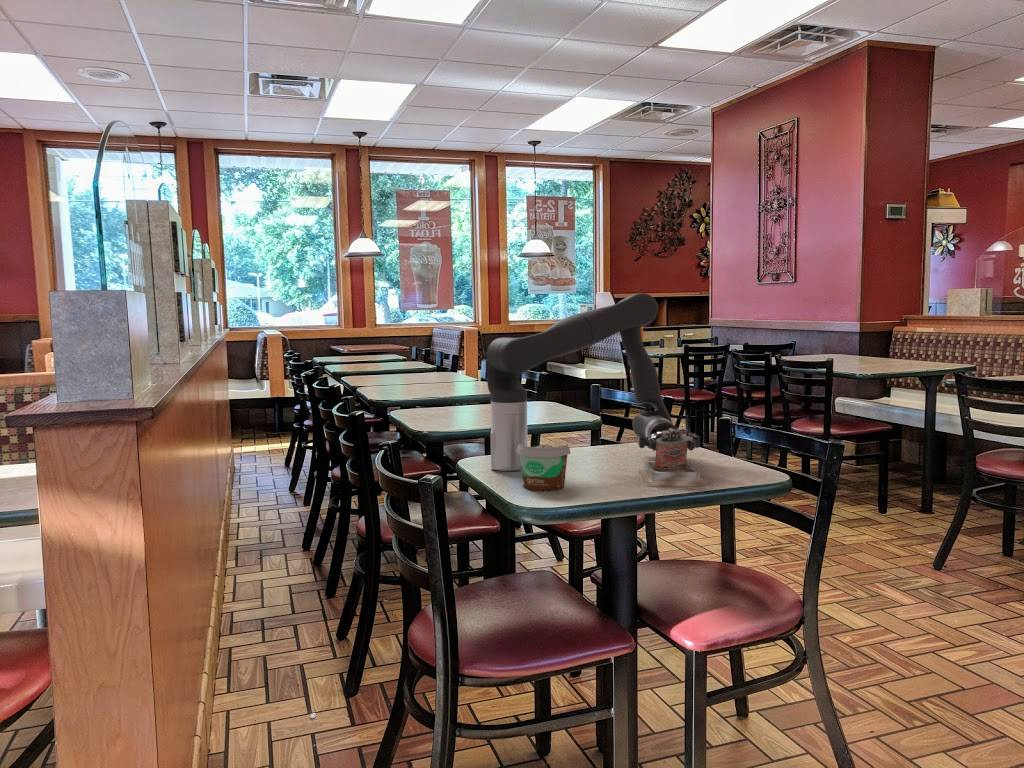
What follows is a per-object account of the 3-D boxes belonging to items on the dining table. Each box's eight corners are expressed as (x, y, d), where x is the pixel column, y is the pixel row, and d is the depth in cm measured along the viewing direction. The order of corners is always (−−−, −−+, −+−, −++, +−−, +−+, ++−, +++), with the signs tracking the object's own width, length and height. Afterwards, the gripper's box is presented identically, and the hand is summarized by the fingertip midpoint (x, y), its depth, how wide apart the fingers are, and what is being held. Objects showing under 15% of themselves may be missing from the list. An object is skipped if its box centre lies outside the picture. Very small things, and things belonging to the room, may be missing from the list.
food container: (511, 491, 167) (510, 446, 167) (517, 485, 173) (517, 442, 173) (566, 494, 165) (565, 448, 164) (570, 487, 170) (570, 443, 170)
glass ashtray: (647, 486, 171) (647, 473, 171) (638, 473, 185) (638, 461, 185) (704, 486, 171) (705, 473, 170) (692, 473, 185) (692, 460, 184)
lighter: (657, 473, 175) (661, 434, 171) (651, 466, 178) (654, 428, 174) (689, 469, 177) (693, 430, 173) (682, 462, 180) (686, 424, 177)
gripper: (633, 419, 190) (642, 430, 174) (690, 419, 190) (704, 429, 174) (633, 449, 191) (642, 462, 175) (690, 448, 190) (704, 462, 174)
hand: (673, 446), depth 174 cm, fingers closed on lighter, 8 cm apart
